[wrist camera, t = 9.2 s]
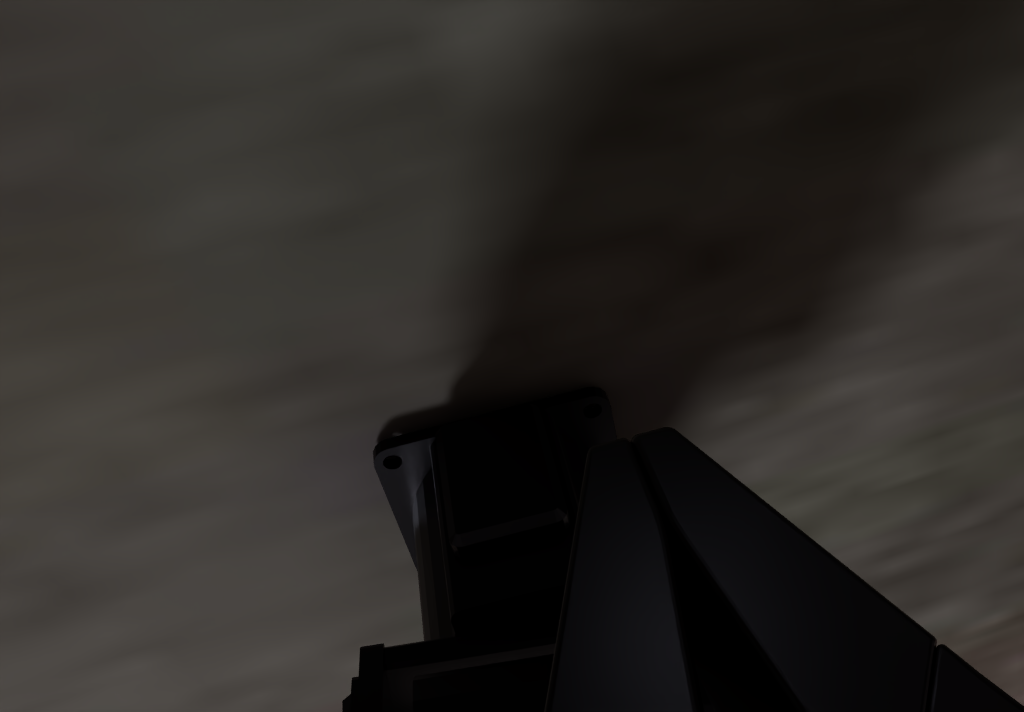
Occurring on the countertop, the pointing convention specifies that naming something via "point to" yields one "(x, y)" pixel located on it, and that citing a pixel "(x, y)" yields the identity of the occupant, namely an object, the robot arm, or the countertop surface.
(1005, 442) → the countertop surface
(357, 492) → the countertop surface
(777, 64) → the countertop surface
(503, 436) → the robot arm
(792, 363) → the countertop surface
